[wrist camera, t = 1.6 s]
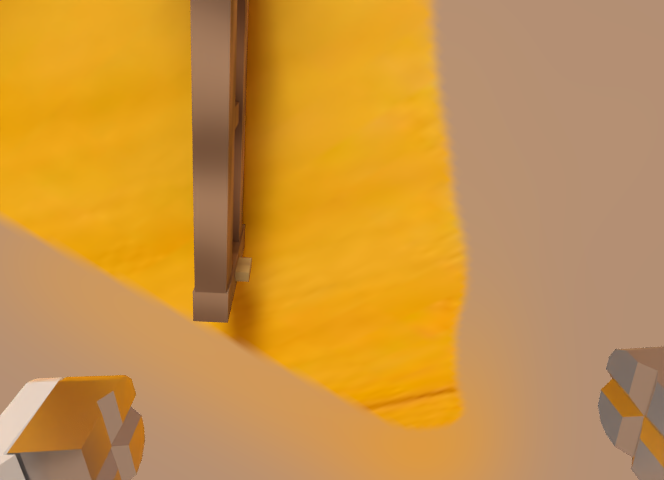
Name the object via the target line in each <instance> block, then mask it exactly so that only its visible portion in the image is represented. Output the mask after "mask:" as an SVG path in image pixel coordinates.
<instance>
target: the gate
mask: <svg viewBox="0 0 664 480" xmlns="http://www.w3.org/2000/svg"><path fill="white" fill-rule="evenodd" d="M248 8H249V0H191V65H192V131H193V198H194V264H195V288H194V290H193V321H205V322H227V323H228V319H229V314H230V310H231V305H232V301H233V296H234V292H235V287H236V283H237V281H246V282H249V277H250V271H251V262H252V258H245V257H242V255H243V251H244V239H245V224H242V217H243V182H244V147H245V113H246V78H247V43H248Z"/></svg>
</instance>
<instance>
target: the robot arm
mask: <svg viewBox="0 0 664 480" xmlns="http://www.w3.org/2000/svg"><path fill="white" fill-rule="evenodd" d="M606 370H607V371H608V373H609V374H610V376H611V377H612V380H611V381H610V382H609V383H608V384H607V385H606V386H605V387H604V388H602V389H601V393H600V398H599V403H598V408H599V414H600V420H601V423H602V426H603V428H604V430H605V433H606V435H607V436H608V437H609V439H610V440H611V442H612V443H613V444H614V446H615V447H616V448H618V449H620V450H622V451H623V452H625V453H626V454H628V455H630V456H631V457H632V467H631V469H632V471H633V472H634V473H635V475H636V476H637V478H638V479H639V480H664V347H646V348H630V349H615V350H614V351H613V353H612V354H611V355H610V356H609V360H608V363H607V367H606ZM135 396H136V392H135V389H134V386H133V382H132V379H131V378H129V377H128V376H126V375H119V376H118V375H116V376H85V377H66V378H40V379H34V380H32V381H30V382H28V383H26V385H25V386H24V387H23V388H22V389H21V391H20V392H19V393H18V394H17V395H16V397H15V398H14V399H13V400H12V402H11V403H10V404H9V405H8V407H7V408H6V409H5V410H4V412H3V413H2V414H1V415H0V480H131V479H132V478H133V477H134V476H135V475H136V474H137V472H138V469H139V466H140V463H141V461H142V456H143V450H144V443H145V434H144V425H143V420H142V416H141V415H140V414H139V413H138V412H136V410H134V409H133V408H132V407H131V405H132V403H133V400H134V398H135Z"/></svg>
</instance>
